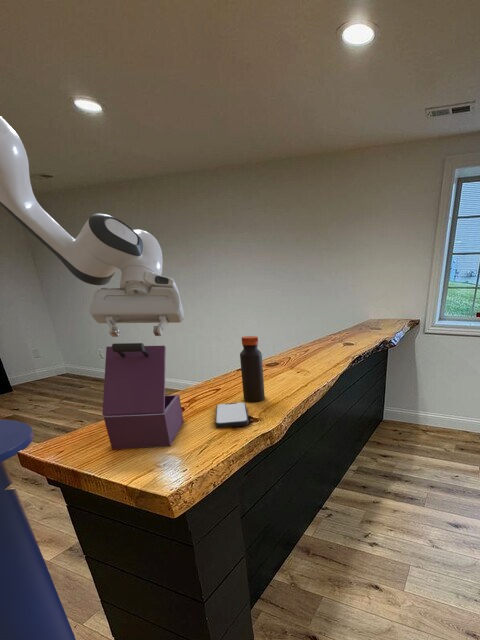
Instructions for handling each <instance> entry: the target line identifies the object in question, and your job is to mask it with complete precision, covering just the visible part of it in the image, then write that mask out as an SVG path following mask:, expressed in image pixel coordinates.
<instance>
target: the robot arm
mask: <svg viewBox="0 0 480 640" xmlns="http://www.w3.org/2000/svg"><path fill="white" fill-rule="evenodd" d="M29 163H30V162H29V158H28V154H27V150H26V148H25V146H24V143H23V142H22V139H21V138H20V136H19V135H18V133H17V132H16V131H15V130H14V129H13V127H12V126H11V125H10V124H9V123H8V122H7V121H6V120H5V119H4V118H3V116H1V115H0V206H1V207H2V208H3V210H5V211H6V212H7V213H8V214H9V215H10V216H11V217H13V218H14V219H15V220H16V221H17V222H18V224H20V225H21V226H22V227H23V228H25V229H26V230H27V231H28V232H29V233H31V235H33V236H34V237H35V238H36V239H37V240H38V241H39V242H41V244H43V245H44V247H46V248H48V250H49V251H50V252H52V253H53V254H54V255H55V257H57V258H58V260H60V261H61V263H62V264H63V265H64V266H65V267H66V269H67V270H68V271H69V272H70V273H71V274H72V275H73V276H74V277H75V278H77V279H78V280H80V281H81V282H84V283H86V284H88V285H92V286H105V285H107V284H109V283H110V282H111V280H112V278H113V277H114V275H115V273H116V272H117V270H118V269H119V271H120V272H121V275H120V282H119V287H110V288H108V287H102V288H100V289H98V290H96V291H94V292H93V295H92V296H93V297H92V300H91V302H90V306H89V309H88V312H89V314H90V316H91V317H92V318H93V320H94V321H95V322H96V323H98V324H107V325H108V328H109V331H108V333H109V335H110V336H111V337H112V338H116V337H118V338H119V337H120V333H121V331H120V329H119V328H118V326H116V325H117V324H157V325H153V330H152V333H153V335H154V337H162V336H163V331H164V330H165V329H166V328H167V327H168V326H169V323H172V324H173V323H174V324H175V323H176V324H179V323H181V322H183V321H184V319H185V311H184V305H183V302H182V300H181V296H180V295H181V294H180V292H179V288H178V286H177V284H176V282H175V280H174V279H173V278H172V277H167V276H165V275H164V276H163V268H164V267H163V266H164V265H163V264H164V262H163V252H162V247H161V244H159V241H158V240H157V238H156V237H155V236H154V235H153V234H151V233H150V232H148V231H146V230H143V229H133V228H131V227H130V226H129V225H127V224H126V223H125V222H123V220H121V219H118V218H116V217H114V216H111V215H109V214H105V213H94V214H91V215H90V216H89V218H88V219H87V220H86V222H85V223H84V225H83V226H82V228H81V229H80V231H79V233H78V234H77V236H76V237H75V238H74V237H73V236H72V235H71V234H70V233H69V232H67V230H65V229H64V228H63V226H61V225H60V224H59V223H58V222H57V221H56V219H54V218H53V217H52V216H51V215H50V214H49V213H48V212H47V211H45V209H44V208H43V207H42V206H41V205H40V203H39V202H38V200H37V198H36V196H35V194H34V191H33V188H32V183H31V178H30V165H29Z"/></svg>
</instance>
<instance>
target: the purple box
mask: <svg viewBox="0 0 480 640" xmlns="http://www.w3.org/2000/svg"><path fill="white" fill-rule="evenodd" d="M103 421H104V424H105V427H106V432H107V435H108V439H109V443H110V447H111V450H125V449H126V450H127V449H141V448H142V449H143V448H161V447H171V446H172V444H173V442H174V440H175V438H176V437H177V435H178V433H179V431H180V430H181V428H182V426H183V424H184V423H185V421H184V415H183V409H182V402H181V397H180V394H165V413H156V414H135V415H113V416H103Z"/></svg>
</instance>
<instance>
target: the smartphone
mask: <svg viewBox="0 0 480 640" xmlns="http://www.w3.org/2000/svg"><path fill="white" fill-rule="evenodd" d="M214 421H215V422H214V425H215V427H216V428H217V429H218V428H219V429H224V428H233V427H244V426H248V425H249V424H250V421H249V414H248V408H247V404H246V402H231V403H219V404H216V406H215V418H214Z"/></svg>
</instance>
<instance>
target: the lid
mask: <svg viewBox="0 0 480 640" xmlns="http://www.w3.org/2000/svg"><path fill="white" fill-rule="evenodd" d="M166 349H167V348H166V345H145V344H144V342H127V343H126V342H124V343H123V342H122V343H120V342H119V343H117V342H116V343H112V344H111V346H106V348H105V364H104V381H103V382H104V383H103V396H102V397H103V398H102V399H103V400H102V412H101V413H102V416H103V417H105V416H113V415H135V414H156V413H165V395H166V355H167V354H166Z"/></svg>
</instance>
